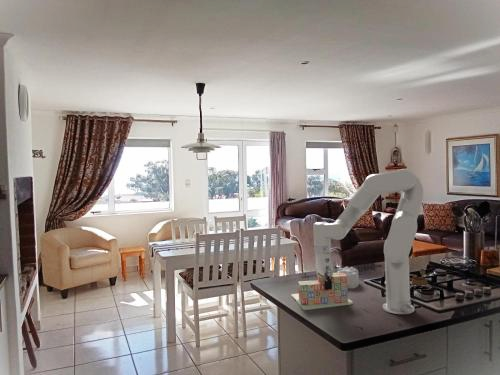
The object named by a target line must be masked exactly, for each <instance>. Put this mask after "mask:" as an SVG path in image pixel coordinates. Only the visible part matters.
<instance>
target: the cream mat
mask: <svg viewBox="0 0 500 375" xmlns="http://www.w3.org/2000/svg"><path fill="white" fill-rule="evenodd" d="M290 296H292V297H293V298H294V299H295V300H296V301H295V300H294V299H293V298H292V297H291V298H292V299H293V300H294V301H295V302H296V303H298V301H299V292H298V293H291V294H290Z"/></svg>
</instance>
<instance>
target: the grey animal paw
mask: <svg viewBox="0 0 500 375" xmlns="http://www.w3.org/2000/svg"><path fill="white" fill-rule="evenodd" d="M336 273H344V274H345V275H346V276H347V284H348V289H355V288H358V286H359V284H360V281H359V278H360V277H359V270H358V269H357V268H355V267H353V266H350V267H349V266H345V267H344V268H342V267H339V268H338V270H337V272H336Z"/></svg>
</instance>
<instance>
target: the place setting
mask: <svg viewBox="0 0 500 375" xmlns="http://www.w3.org/2000/svg"><path fill="white" fill-rule="evenodd" d="M419 273H420V275H421V276H413V277H412V278H411V282H412V286H414V285H416V286H422V285H426V286H427V283H428V279H427V278H426V277H424V275H425V274H426V269H425V268H420V269H419ZM423 277H424V278H423Z"/></svg>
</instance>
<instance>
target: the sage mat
mask: <svg viewBox="0 0 500 375" xmlns="http://www.w3.org/2000/svg"><path fill="white" fill-rule="evenodd" d="M297 304H298V305H299V307H301V308H302V309H303V311H309V310H317V309H325V308H334V307H339V306H341V307H342V306H348V305H353V304H354V302H353V301H352V300H351V299H350V298H348V303H331V304H313V305H301V304H300V301H298V302H297Z"/></svg>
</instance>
